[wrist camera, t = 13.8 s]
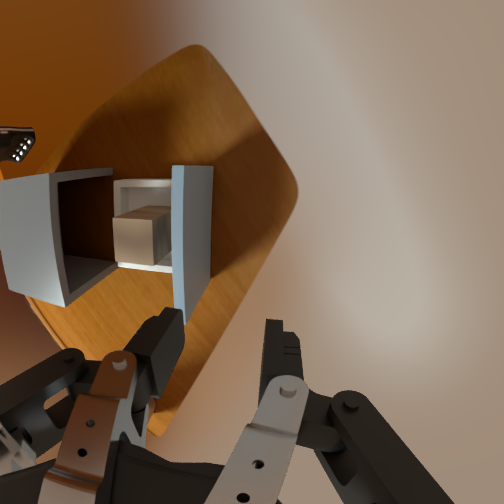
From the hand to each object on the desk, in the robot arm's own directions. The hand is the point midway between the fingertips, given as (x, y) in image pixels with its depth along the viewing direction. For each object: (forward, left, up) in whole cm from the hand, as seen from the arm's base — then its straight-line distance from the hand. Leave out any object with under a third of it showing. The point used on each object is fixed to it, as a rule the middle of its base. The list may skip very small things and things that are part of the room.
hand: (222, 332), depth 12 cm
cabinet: (0, +25, -21) cm, 33 cm away
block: (0, +11, -20) cm, 23 cm away
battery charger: (+12, +39, -21) cm, 46 cm away
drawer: (0, +11, -21) cm, 24 cm away
